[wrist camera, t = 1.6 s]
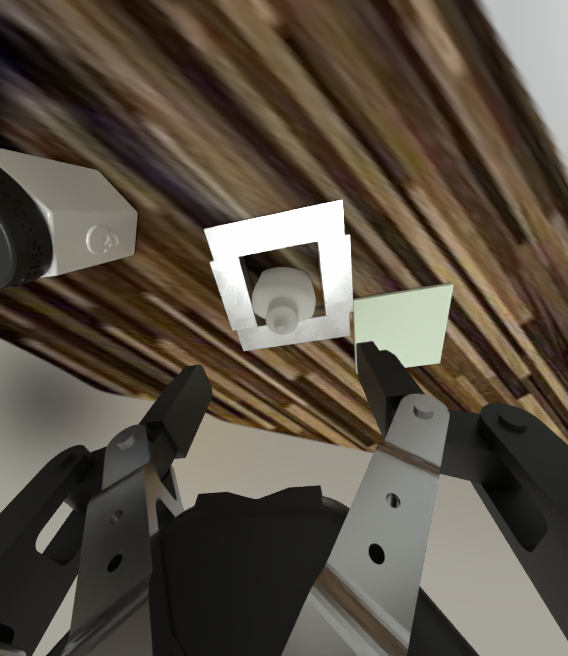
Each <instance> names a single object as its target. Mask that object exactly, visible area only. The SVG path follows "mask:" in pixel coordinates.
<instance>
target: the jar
mask: <svg viewBox="0 0 568 656" xmlns="http://www.w3.org/2000/svg"><path fill="white" fill-rule="evenodd" d="M137 217H138V213H137V211H136V210H135V209H134V208H133V207H132V206H131V205H130V204H129V203H128V202H127V201H126V199H125V198H124V197H123V196H122V195H121V194H120V193H119V192H118V191H117V190H116V189H115V188H114V187H113V186H112V185H111V184H110V182H109V181H108V180H107V179H106V178H105V177H104V176H103V175H102V174H101V173H100V172H99V171H98V170H95V169H90V168H86V167H81V166H77V165H72V164H68V163H64V162H59V161H55V160H50V159H46V158H41V157H37V156H32V155H28V154H24V153H19V152H15V151H10V150H6V149H1V148H0V289H3V288H7V287H15V286H19V285H23V284H24V283H27V282H30V281H33V280H36V279H38V278H43V277H50V276H57V275H61V274H64V273H68V272H72V271H76V270H80V269H83V268H87V267H91V266H95V265H98V264H102V263H106V262H110V261H113V260H117V259H121V258H125V257H129V256H132V255H134V252H135V240H136V229H137Z"/></svg>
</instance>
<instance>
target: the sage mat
mask: <svg viewBox="0 0 568 656" xmlns="http://www.w3.org/2000/svg"><path fill="white" fill-rule="evenodd" d="M452 290H453V284H451V283H446V284H440V285H434V286H428V287H422V288H416V289H410V290H404V291H397V292H391V293H385V294H379V295H373V296H367V297H361V298H355V299H353V328H354V349H355V371H356V373H358V372H357V356H356V344H357V343H361V342H368V341H373V342H374V343H375V345H376V346H377V348H378V349H379V350H388V351H389V352H391V353H393V354H394V355H396V356H397V358H398V359H399V360H400V362H401V364H403V366H404V367H413V366H421V365H429V364H437V363H440V359H441V354H442V348H443V342H444V336H445V330H446V325H447V319H448V313H449V307H450V302H451V296H452Z"/></svg>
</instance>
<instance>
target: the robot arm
mask: <svg viewBox="0 0 568 656" xmlns="http://www.w3.org/2000/svg"><path fill="white" fill-rule="evenodd" d="M356 356H357V372H358V377H359V380H360V383H361V385H362V388H363V390H364V393H365V395H366V397H367V400H368V402H369V405H370V407H371V410H372V412H373V414H374V417H375V419H376V422H377V424H378V427H379V429H380V431H381V434H382V436H383V439H384V442H383V444H382V443H379V444H378V446H377V447H376V450H375V452H374V454H373V456H372V459H371V461H370V463H369V466H368V468H367V470H366V473H365V475H364V477H363V480H362V482H361V484H360V487H359V489H358V492H357V494H356V496H355V498H354V500H353V503H352V505H351V507H350V509H349V508H348V507H347V506H345V505H344V504H342V503H340V502H338V501H336V500H333V499H331V498H328V497H324V496H322V491H321V486H305V487H291V488H287V489H284V490H281V491H279V492H276V493H273V494H271V495H268V496H265V497H262V498H260V499H252V498H247V497H244V496H240V495H237V494H233V493H229V492H221V493H220V492H219V493H207V494H206V493H205V494H198V497H197V500H196V503H195V506H193V507H191V508H189V509H187V510H185V511H184V509H183V506H182V502H181V498H180V493H179V489H178V485H177V481H176V476H175V472H174V468H173V466H172V465H171V464H172V462H173V460H174V459H179V458H185V457H186V455H187V453H188V451H189V448H190V446H191V444H192V442H193V439H194V437H195V435H196V432H197V430H198V428H199V425H200V423H201V421H202V419H203V416H204V414H205V412H206V410H207V407H208V405H209V403H210V401H211V398H212V387H211V385H210V382H209V380H208V378H207V375H206V373H205V371H204V369H203V367H202V366H201V365H193V366H186V367H184V368H183V370H182V371H181V373H180V374H179V375H178V377H176V378H175V379H174V380H173V381H171V382H170V383H169V384H168V385H167V386H166V388H165V389H164V390H163V392H162V394H160V396H159V397H158V399H157V401H155V403H154V404H153V405H152V407H151V408H150V410H149V411H148V412H147V414H146V415H145V416H144V418H143V419H142V420H141V422H140V423H139V424H138V425H133V426H130V427H128V428H126V429H124V430H123V431H121V432H120V433H119V434H117V435H116V436H115V437H114V438H113V439H112V440H111V441H110V443H109V444H108V446H107V447H104V448H101V449H99V450H96V451H93V452H89V451H88V450H87V448H86V447H85V446H83V445H77V446H73V447H70V448H68V449H66V450H64V451H63V452H61V453H59V454H58V455H57V456H55V457H54V458H53V459H51V460H50V461H49V462H48V463H47V464H46V465H45V466H44V467H43V468H42V469H41V470H40V471H39V473H38V474H37V475H36V476H35V477H34V478H33V479H32V480H31V481H30V482H29V484H27V485H26V486H25V488H24V489H23V490H22V491H21V492H20V493H19V494H18V495H17V496H16V497H15V498H14V499H13V500H12V501H11V502H10V503H9V504H8V506H7V507H6V508H5V509H4V510H3V511H2V512H1V513H0V656H32V655H33V653H34V651H35V649H36V647H37V646H38V644H39V642H40V640H41V638H42V637H43V635H44V633H45V631H46V630H47V628H48V626H49V624H50V622H51V620H52V619H53V617H54V615H55V613H56V612H57V610H58V608H59V606H60V605H61V603H62V601H63V599H64V597H65V596H66V594H67V592H68V590H69V589H70V587H71V585H72V583H73V581H74V580H75V578H76V576H77V574H78V577H77V585H76V592H75V599H74V606H73V613H72V620H71V627H70V630H69V631H68V632H67V633H66V634H65V635H64V637H63V638H62V639H61V640H60V641H59V642H58V643H57V644H56V645H55V646H54V647H53V649H52V650H51V651H50V652H49V653H48V654H47V655H46V656H479V655H478V654H477V652H476V651H475V650H474V649H473V648H472V646H471V645H470V644H469V643H468V642H467V641H466V640H465V638H464V637H463V636H462V635H461V634H460V632H459V631H458V630H457V629H456V628H455V627H454V626H453V624H452V623H451V622H450V621H449V620H448V619H447V617H446V616H445V615H444V614H443V613H442V611H441V610H440V609H439V608H438V607H437V606H436V604H435V603H434V602H433V601H432V600H431V599H430V597H429V596H428V595H427V594H426V593H425V592H424V590H423V589H422V588H421V587H420V586H419V585H420V580H421V574H422V569H423V563H424V558H425V552H426V547H427V541H428V536H429V530H430V525H431V518H432V513H433V508H434V503H435V497H436V492H437V486H438V480H439V474H444V475H448V476H452V477H456V478H460V479H464V480H469V481H471V483H472V484H473V486H474V488H475V490H476V491H477V493H478V495H479V496H480V498H481V499H482V501H483V503H484V504H485V506H486V508H487V509H488V511H489V513H490V514H491V516H492V518H493V519H494V521H495V522H496V524H497V526H498V527H499V529H500V530H501V532H502V534H503V535H504V537H505V539H506V540H507V542H508V544H509V545H510V547H511V549H512V550H513V552H514V553H515V555H516V557H517V558H518V560H519V562H520V563H521V565H522V567H523V568H524V570H525V571H526V573H527V575H528V576H529V578H530V580H531V581H532V583H533V585H534V586H535V588H536V589H537V591H538V593H539V594H540V596H541V598H542V599H543V601H544V603H545V604H546V605H547V607H548V609H549V611H550V612H551V614H552V616H553V617H554V619H555V620H556V622H557V624H558V625H559V627H560V629H561V630H562V632H563V634H564V635H565V637H566V638H567V640H568V445H567V444H566V443H565V442H564V441H563V440H562V439H561V438H559V437H558V436H557V435H556V434H555V433H554V432H553V431H552V430H550V429H549V428H548V427H547V426H546V425H545V424H544V423H543V422H541V421H540V420H539V419H538V418H537V417H535V416H534V415H532V414H530V413H529V412H527V411H525V410H522V409H520V408H517V407H515V406H511V405H507V404H500V403H494V404H488V405H486V406H484V407H483V408H482V410H481V412H480V414H476V413H469V412H462V411H455V410H450V409H447V408H446V407H445V405H444V404H443V403H441V402H440V401H439V400H437V399H435V398H433V397H431V396H428V395H425V394H424V393H423V391H422V390H421V389H420V387H419V386H418V385H417V383H416V382H415V381H414V379H413V378H412V377H411V375H410V374H409V372H408V371H406V368H405V367H404V366H403V364H401V362H400V360H399V359H398V358H397V356H396V355H394V354H393V353H391V352H389V351H388V350H379V349H378V348H377V346H376V345H375V343H374V342H373V341H368V342H361V343H357V344H356ZM63 501H64V502H65V503H66V504H68V505H69V506H70V507H71V508H72V509H73V511H72V512H71V513H70V515H69V516H68V518H67V519H66V521H65V522H64V523H63V525H62V526H61V528H60V529H59V531H58V532H57V533H56V535H55V536H54V538H53V539H52V541H51V542H50V543H49V545H48V546H47V548H46V549H45V551H44V552H43V553H42V554H41V553H39V552H38V551H37V550H36V547H35V544H36V540H37V537H38V535H39V533H40V532H41V530H42V529H43V528H44V526H45V525H46V524H47V522H48V521H49V520H50V518H51V517H52V516H53V514H54V513H55V512H56V510H57V509H58V508H59V506H60V505H61V504H62V503H63Z"/></svg>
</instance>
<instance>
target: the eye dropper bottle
mask: <svg viewBox="0 0 568 656" xmlns="http://www.w3.org/2000/svg"><path fill="white" fill-rule="evenodd" d="M315 303H316V298H315V293H314V289H313V286H312V282H311V279H310V277H309V275H308V274H306V273H304V272H302V271H300V270H297V269H294V268H289V267H275V268H270V269H267V270H265V271H263V272H262V273H261V275H260V277H259V279H258V282H257V284H256V286H255V288H254V291H253V293H252V309H253V312H254V313H255V314H257V315H258V316H260V317H262V318H264V319H266V325H267V326H268V328H269V329H270V330H271V331H272V332H273V333H275V334H278V335H287V334H290V333H292V332H293V331H294V330H295V329H296V328H297V325H298V322H301V321H304V320H307V319H309V318H311V317H312V316H313V314H314V309H315Z"/></svg>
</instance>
